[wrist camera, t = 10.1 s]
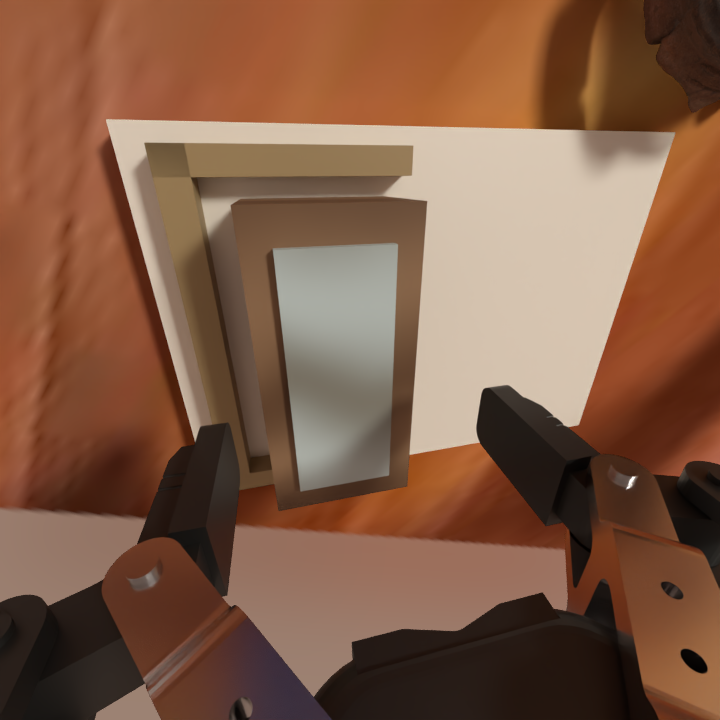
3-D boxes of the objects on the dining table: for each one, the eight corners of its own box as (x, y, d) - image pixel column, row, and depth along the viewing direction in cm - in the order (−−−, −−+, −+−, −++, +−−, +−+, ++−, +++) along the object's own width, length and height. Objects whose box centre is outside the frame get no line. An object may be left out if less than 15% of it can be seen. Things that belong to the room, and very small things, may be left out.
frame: (241, 198, 14) (229, 205, 9) (384, 196, 15) (431, 201, 11) (275, 442, 19) (278, 516, 15) (379, 426, 20) (409, 491, 16)
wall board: (651, 135, 18) (702, 129, 16) (565, 415, 25) (592, 435, 23) (118, 124, 13) (90, 113, 11) (211, 474, 21) (204, 507, 18)
